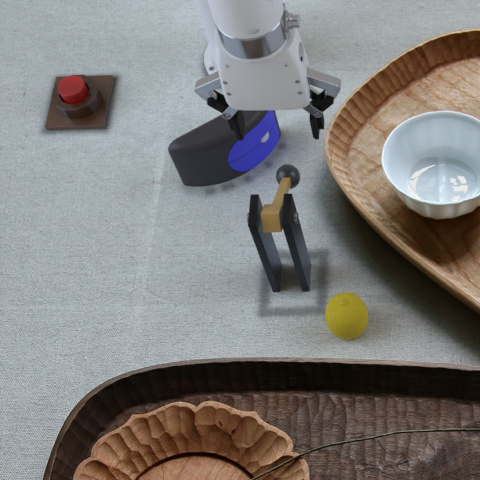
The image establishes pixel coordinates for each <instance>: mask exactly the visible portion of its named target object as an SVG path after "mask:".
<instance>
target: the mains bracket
mask: <svg viewBox="0 0 480 480" xmlns="http://www.w3.org/2000/svg"><path fill="white" fill-rule="evenodd" d="M263 207H264V205H263V203H262V200H261V198H260V194H258V193H257V194H250V196H249V208H248V212H247V214H246V223H247V227H248V229H249V230H248V231H249V232H250V235H251V237H252V240H253V243H254V245H255V249H256V251H257V254H258V256H259V259H260V261H261V264H262V267H263V269H264V272H265V275H266V277H267V280H268V283H269V286H270V289H271V291H272V293H280V292H281V286H282V284H281V283H282V273H283V271H282V270H283V264H282V260H281V257H280V254H279V250H278V248H277V246H276V245H277V244H276V242H275V238H274V236H273V232H263V227H262V220H261V212H262V209H263ZM282 228H283V229H282V232H283V234H284V237H285V240H286V244H287V247H288V250H289V253H290V256H291V257H290V258H291V259H292V260H291V261H292V263H293V267H294V269H295V273H296V276H297V278H298V282H299V285H300V288H301V289H300V290H301V292H302V293H303V292H304V293H305V292H311V291H310V290H311V273H312V262H311V258H310V255H309V254H310V253H309V250H308V246H307V243H306V240H305V236H304V232H303V228H302V225H301V222H300V218H299V212H298V211H297V207H296V203H295V199H294V196H293V193H292V192H291V193H288V194H284V199H283V212H282Z"/></svg>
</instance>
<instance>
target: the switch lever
mask: <svg viewBox="0 0 480 480" xmlns="http://www.w3.org/2000/svg"><path fill="white" fill-rule="evenodd" d="M275 180H276V182H277V184H278V187H277V190H276V192H275V195H274V197H273V200H272V202H271V203H264V204H263V209H262V212H261V220H262V227H263V232H271V233H282V232H283V228H282V212H283V199H284V194H289V191H290V190H293V189H294V188H296V187H297V186H298V185H299V184H300V181H301V173H300V171H299V169H298V168H297V167H296V166H295V165H293V164H288V163H285V164H282V165H281V166H279V167H278V169H277V170H276V173H275Z"/></svg>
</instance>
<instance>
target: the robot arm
mask: <svg viewBox="0 0 480 480" xmlns="http://www.w3.org/2000/svg"><path fill="white" fill-rule="evenodd" d="M193 3H194V5H195V9H196V12H197V14H198V17H199V20H200V23H201V26H202V30H203V32H204V36H205V39H206V41H207V46H206V47H205V49H204V50H205V51H204V54H203V64H204V67H205V69H206V72H207V75H206V76H204V77H202V78H200V79H198V80H196V81H195V82H194V83H195V84H194V93H195V94H196V95H198V97H200V98H201V99H202V100H203V101H206V105H207V106H208V107H210V108H212V109H213V110H215V111H217V112H219V113H221V115H222V117H223V118H225V119H227V120H228V123H229V126H230V129H231V131H235V134H236V137H237V140H238V141H242V139H244V131H245V119H244V115H243V112H242V110H275V111H293V110H300V109H303V110H304V111H306V112H307V113H308V114H309V117H308V118H309V125H310V130H311V135H312V139H314V140H320V132H321V130H325V116H324V112H325V111H326V110H327V109H329V108H330V107H331V106H333V105H334V104H335V99H337V97H338V96H339V94H340V91H341V89H342V88H341V87H342V85H341V84H342V81H341V79H340V78H338V77H336V76H333V75H330V74H327V73H324V72H320V71H318V70H315V69H312V68H311V66H310V61H309V59H308V56H307V52H306V51H307V50H306V49H305V45H304V43H303V39H302V38H301V35H300V32H299V30H298V29H300V28H301V18H300V15H299V14H293V13H292V12H289V11H288V10H287V9H286V4H285V2H283V0H193ZM314 87H316V88H318V89H321V90H322V91H321V92H320V91H318V90H317V89H316V88H314ZM219 88H221V90H222V93H221V92H220V91H217V89H219Z"/></svg>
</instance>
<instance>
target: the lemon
mask: <svg viewBox="0 0 480 480" xmlns="http://www.w3.org/2000/svg"><path fill="white" fill-rule="evenodd" d="M324 313H325V314H324V318H325V323H326V326H327V328H328V329H329V331H330V332H331V333H332V334H333V336H334V337H335V336H336V337H337V338H338V339H342V340H348V341H349V340H354V339H356V338H359V337H360V336H361V335H363V333H364V332H365V331H366V328H367V327H368V323H369V311H368V308H367V305H366V303H365V302H364V300H363V299H362V298H361V297H360V296H359V295H357V294H355V293H354V292H348V291H344V292H343V291H342V292H339V293H338V292H337V294H335V295H333V296H332V297H331V298H330V299H329V301H328V302H327V303H326V307H325V312H324Z"/></svg>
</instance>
